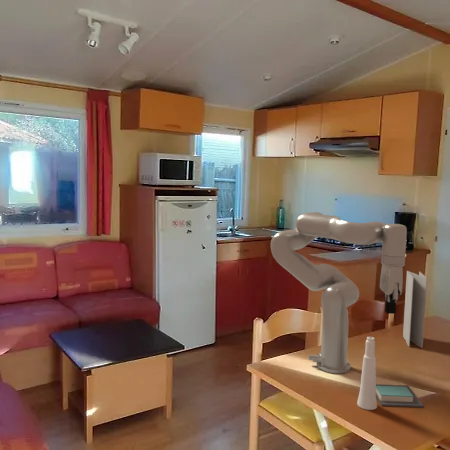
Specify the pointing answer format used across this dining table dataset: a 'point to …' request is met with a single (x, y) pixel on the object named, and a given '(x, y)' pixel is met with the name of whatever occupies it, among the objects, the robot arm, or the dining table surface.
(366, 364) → the cosmetic bottle
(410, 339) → the brochure
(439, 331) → the dining table surface
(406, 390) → the tile
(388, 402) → the mat
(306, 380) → the dining table surface
